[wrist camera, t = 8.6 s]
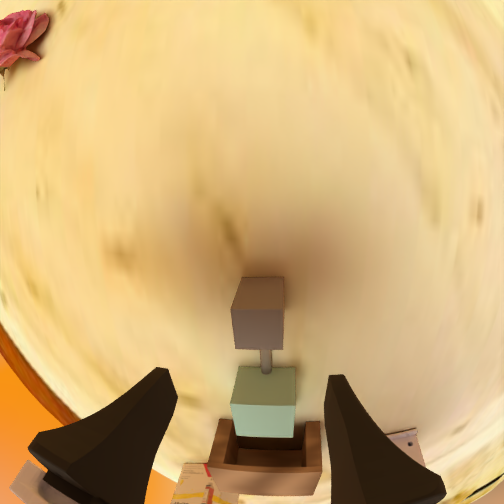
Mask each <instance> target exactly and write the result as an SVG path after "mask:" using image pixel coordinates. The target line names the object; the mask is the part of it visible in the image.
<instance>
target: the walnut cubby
mask: <svg viewBox="0 0 504 504" xmlns="http://www.w3.org/2000/svg"><path fill="white" fill-rule="evenodd" d="M207 469H208V470H209V472H210V474H211V476H212V478H213V480H214V482H215V484H216V486H217V488H218V490H219V491H220V492H228V493H237V494H247V495H263V496H308V495H313V494H314V491H315V489H316V486H317V484H318V482H319V479H320V477H321V474H322V452H321V434H320V421H315V422H306V425H305V432H304V438H303V445H302V450H257V449H241V448H239V447H238V442H237V438H236V433H235V428H234V424H233V420H226V419H219V423H218V427H217V430H216V434H215V438H214V442H213V445H212V449H211V453H210V456H209V460H208V464H207Z"/></svg>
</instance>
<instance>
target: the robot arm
mask: <svg viewBox="0 0 504 504" xmlns="http://www.w3.org/2000/svg"><path fill="white" fill-rule="evenodd" d="M177 399H178V396H177V393H176V390H175V388H174V385H173V382H172V379H171V376H170V373H169V370H168V369H166V368H159V367H156V368H155V369H154V370H152V371H151V372H150V373H149V374H148V375H147V376H145V377H144V378H143V379H142V380H141V381H139V382H138V383H137V384H136V385H135V386H133V387H132V388H131V389H130V390H128V391H127V392H126V393H125V394H123V395H122V396H121V397H119V398H118V399H116V400H115V401H114V402H112V403H111V404H109V405H108V406H106V407H105V408H103V409H101V410H100V411H98V412H96V413H94V414H92V415H90V416H88V417H86V418H84V419H82V420H79V421H77V422H75V423H72V424H69V425H66V426H63V427H60V428H56V429H52V430H48V431H43V432H39V433H38V434H37V435H36V437H35V438H34V440H33V441H32V442H31V444H30V445H29V447H28V450H29V452H30V453H31V454H32V455H33V456H34V457H35V458H36V459H37V460H38V461H39V462H40V463H41V464H42V465H44V466H45V467H46V468H47V469H48V471H47V473H45V472H44V471H43V470H41V469H40V468H39V467H38V466H36V465H35V464H33V463H32V462H31V461H29V460H27V462H26V463H25V464H24V467H22V469H21V470H20V472H19V474H18V475H17V477H16V478H15V480H14V481H13V483H12V485H11V486H10V490H11V491H12V492H13V493H14V494H15V495H16V496H17V497H19V498H20V499H21V500H22V501H23V502H24V503H25V504H144V502H145V495H146V490H147V485H148V481H149V477H150V473H151V469H152V465H153V462H154V459H155V455H156V453H157V450H158V448H159V445H160V443H161V441H162V439H163V437H164V434H165V432H166V430H167V428H168V425H169V423H170V421H171V418H172V416H173V413H174V410H175V406H176V403H177ZM324 418H325V429H326V435H327V442H328V448H329V455H330V462H331V504H436V503H438V502H439V501H441V500H442V499H443V498H444V497H445V496H446V494H447V493H446V489H445V485H444V483H443V481H442V478H441V476H439V475H437V474H436V473H434V472H432V471H430V470H429V469H427V468H426V467H425V463H424V459H423V456H422V453H421V449H420V446H419V443H418V440H417V437H416V433H417V432H418V431H417V429H413V430H409V431H405V432H400V433H395V434H391V435H385V434H384V433H383V431H382V430H381V429H380V428H379V427H378V426H377V425H376V423H375V422H374V421H373V420H372V418H371V417H370V416H369V414H368V413H367V412H366V410H365V409H364V407H363V406H362V404H361V403H360V401H359V400H358V398H357V397H356V395H355V393H354V392H353V390H352V388H351V387H350V385H349V383H348V381H347V379H346V377H345V376H344V375H343V374H340V375H329V378H328V384H327V390H326V396H325V401H324Z"/></svg>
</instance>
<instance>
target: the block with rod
mask: <svg viewBox="0 0 504 504" xmlns="http://www.w3.org/2000/svg"><path fill="white" fill-rule="evenodd" d="M231 317H232V325H233V333H234V341H235V349H254V350H260V359H261V367H239V368H238V372H237V377H236V381H235V385H234V389H233V394H232V398H231V402H230V406H231V411H232V416H233V421H234V425H235V430H236V435H237V436H250V437H277V438H293V431H294V420H295V408H296V379H295V367H286V368H274V367H272V365H271V350H283V334H284V277H242V279H241V282H240V284H239V287H238V290H237V293H236V296H235V298H234V301H233V304H232V307H231Z"/></svg>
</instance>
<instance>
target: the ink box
mask: <svg viewBox="0 0 504 504" xmlns="http://www.w3.org/2000/svg"><path fill="white" fill-rule="evenodd" d="M207 464H208V463H206V464H186V463H185V464H184V465H183V468H182V471H181V474H180V477H179V480H178V483H177V486H176V489H175V492H174V495H173V498H172V501H171V504H237V503H238V498H239V494H237V493H228V492H220V491H219V490H218V488H217V486H216V484H215V482H214V480H213V478H212V476H211V474H210V472H209V470H208V469H207Z"/></svg>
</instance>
